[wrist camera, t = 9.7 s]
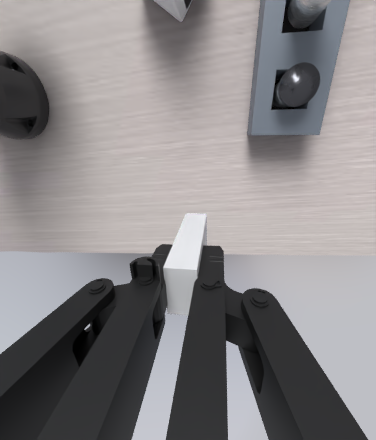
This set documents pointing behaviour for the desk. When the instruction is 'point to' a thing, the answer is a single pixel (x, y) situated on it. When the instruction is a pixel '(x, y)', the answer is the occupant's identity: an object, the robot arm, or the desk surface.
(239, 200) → the desk surface
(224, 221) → the desk surface
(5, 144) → the desk surface
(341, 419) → the robot arm
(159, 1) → the container
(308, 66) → the knob black
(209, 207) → the desk surface
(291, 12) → the knob ivory
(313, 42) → the mount
